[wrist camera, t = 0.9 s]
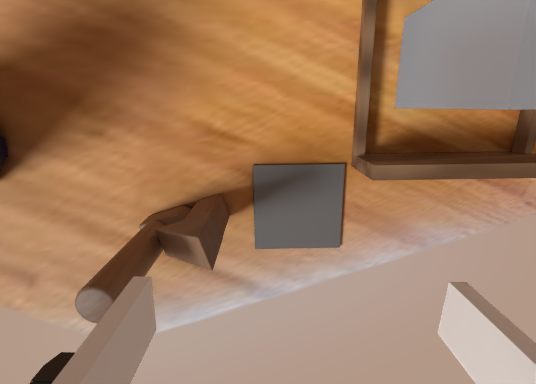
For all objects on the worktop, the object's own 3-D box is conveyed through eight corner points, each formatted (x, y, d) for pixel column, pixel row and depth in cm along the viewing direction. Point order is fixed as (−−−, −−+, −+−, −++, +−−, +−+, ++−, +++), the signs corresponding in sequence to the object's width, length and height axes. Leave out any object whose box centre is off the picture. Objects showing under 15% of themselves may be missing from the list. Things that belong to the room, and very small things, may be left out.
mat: (253, 164, 39) (253, 165, 39) (343, 163, 39) (344, 164, 39) (255, 247, 42) (255, 248, 42) (339, 246, 42) (339, 247, 42)
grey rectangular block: (404, 18, 34) (544, -70, 17) (438, 18, 34) (613, -70, 17) (394, 107, 37) (507, 109, 20) (426, 107, 37) (566, 108, 20)
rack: (366, -56, 32) (398, -107, 25) (566, -58, 32) (659, -109, 25) (351, 165, 39) (372, 180, 32) (516, 163, 39) (577, 177, 32)
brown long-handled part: (230, 216, 41) (205, 296, 24) (158, 238, 42) (84, 331, 25) (221, 191, 40) (188, 257, 23) (148, 215, 41) (62, 295, 24)
